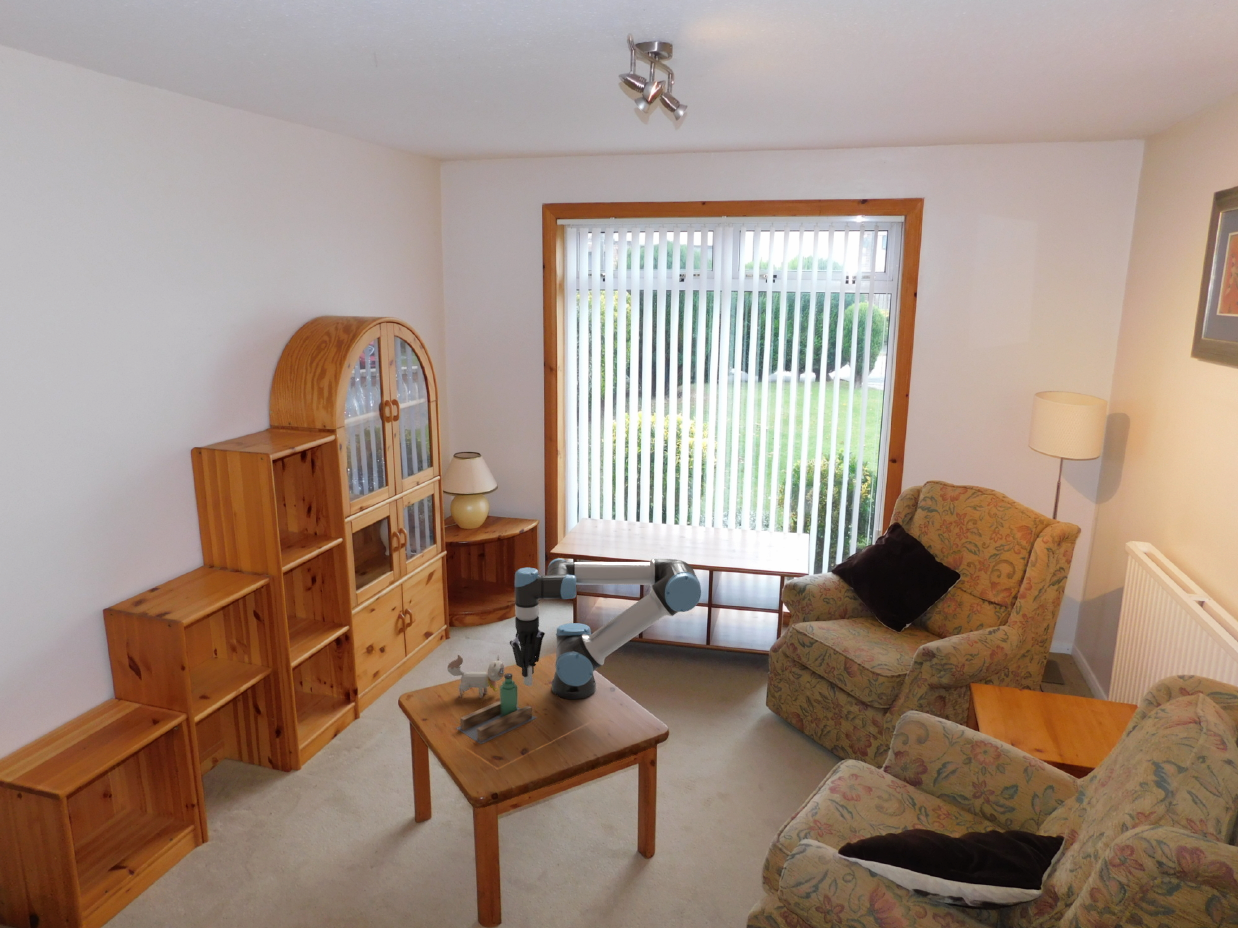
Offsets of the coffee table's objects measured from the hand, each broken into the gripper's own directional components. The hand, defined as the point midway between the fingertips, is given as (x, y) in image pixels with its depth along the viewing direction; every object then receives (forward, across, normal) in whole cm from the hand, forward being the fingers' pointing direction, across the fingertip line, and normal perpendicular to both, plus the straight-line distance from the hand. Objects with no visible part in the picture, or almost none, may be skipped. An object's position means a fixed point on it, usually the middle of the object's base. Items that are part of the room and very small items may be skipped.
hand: (527, 684), depth 269 cm
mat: (+9, +13, 0) cm, 16 cm away
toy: (+9, +7, -19) cm, 22 cm away
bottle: (+9, +8, 0) cm, 12 cm away
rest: (+9, +13, 0) cm, 16 cm away
